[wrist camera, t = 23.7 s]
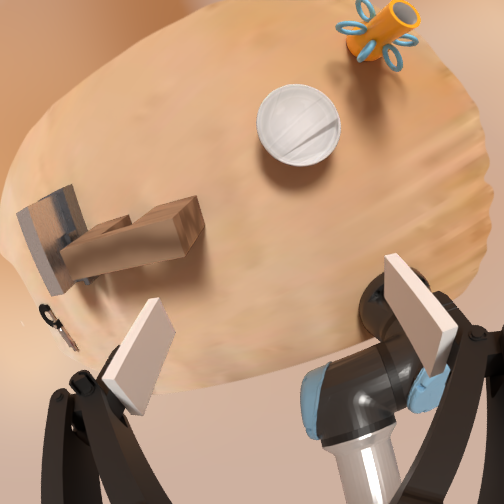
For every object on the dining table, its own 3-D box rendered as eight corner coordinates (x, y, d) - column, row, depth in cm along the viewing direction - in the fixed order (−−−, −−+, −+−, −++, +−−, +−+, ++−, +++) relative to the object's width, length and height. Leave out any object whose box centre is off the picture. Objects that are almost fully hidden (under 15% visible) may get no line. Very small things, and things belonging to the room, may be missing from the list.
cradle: (104, 270, 49) (90, 284, 44) (77, 276, 50) (63, 289, 45) (71, 184, 42) (53, 191, 37) (46, 197, 43) (29, 204, 38)
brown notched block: (205, 224, 44) (185, 256, 33) (107, 249, 47) (72, 280, 36) (196, 195, 42) (172, 218, 31) (98, 224, 45) (59, 251, 34)
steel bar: (86, 272, 46) (64, 293, 38) (73, 275, 46) (51, 296, 39) (56, 193, 39) (27, 206, 32) (43, 200, 40) (16, 213, 33)
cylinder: (373, 91, 34) (422, 76, 20) (316, 52, 32) (341, 15, 18) (405, 43, 29) (454, 18, 15) (352, 5, 27) (385, -37, 14)
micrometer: (36, 305, 55) (31, 310, 53) (49, 300, 54) (43, 306, 52) (65, 348, 61) (61, 354, 59) (80, 346, 60) (75, 353, 57)
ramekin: (315, 174, 40) (322, 179, 35) (246, 146, 39) (243, 148, 34) (342, 109, 36) (353, 105, 31) (272, 79, 34) (274, 71, 30)
